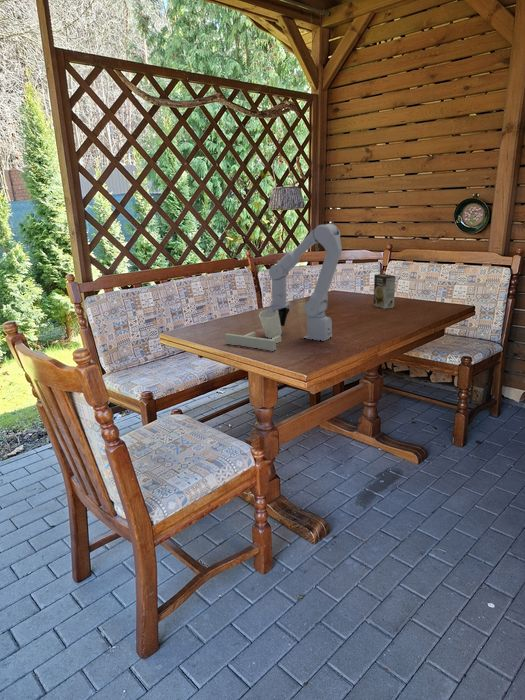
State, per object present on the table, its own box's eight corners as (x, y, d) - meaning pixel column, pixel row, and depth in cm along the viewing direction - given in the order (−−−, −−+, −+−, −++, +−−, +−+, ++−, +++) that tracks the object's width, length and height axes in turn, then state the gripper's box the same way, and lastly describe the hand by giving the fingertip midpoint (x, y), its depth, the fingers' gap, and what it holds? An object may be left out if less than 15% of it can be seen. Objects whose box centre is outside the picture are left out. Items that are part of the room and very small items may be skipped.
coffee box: (372, 306, 243) (373, 274, 239) (382, 304, 246) (384, 273, 241) (384, 309, 235) (385, 276, 231) (394, 307, 238) (396, 275, 233)
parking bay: (291, 343, 182) (290, 333, 181) (273, 351, 172) (273, 341, 171) (244, 336, 194) (243, 327, 192) (225, 344, 184) (225, 334, 182)
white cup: (267, 341, 188) (262, 320, 183) (261, 333, 194) (256, 312, 189) (286, 335, 189) (281, 313, 184) (279, 326, 196) (274, 305, 190)
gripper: (279, 290, 199) (280, 321, 203) (260, 296, 188) (261, 329, 192) (294, 291, 195) (294, 323, 199) (276, 297, 184) (276, 331, 188)
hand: (279, 326), depth 195 cm, fingers open, 3 cm apart
